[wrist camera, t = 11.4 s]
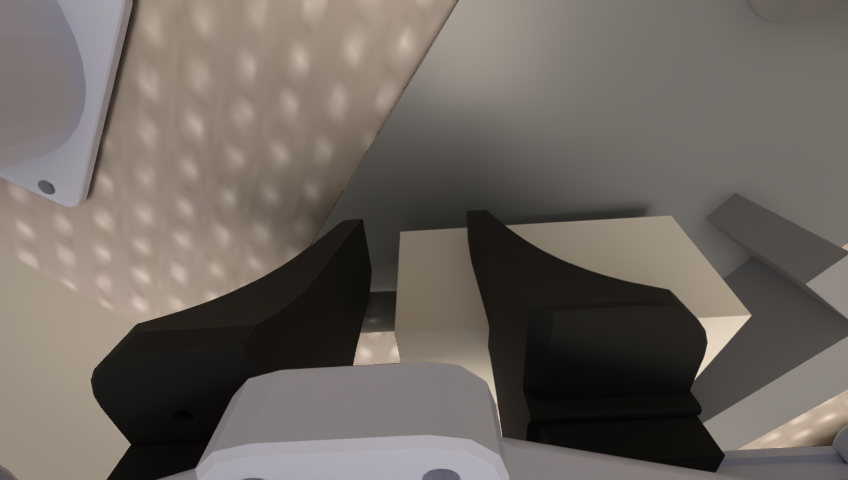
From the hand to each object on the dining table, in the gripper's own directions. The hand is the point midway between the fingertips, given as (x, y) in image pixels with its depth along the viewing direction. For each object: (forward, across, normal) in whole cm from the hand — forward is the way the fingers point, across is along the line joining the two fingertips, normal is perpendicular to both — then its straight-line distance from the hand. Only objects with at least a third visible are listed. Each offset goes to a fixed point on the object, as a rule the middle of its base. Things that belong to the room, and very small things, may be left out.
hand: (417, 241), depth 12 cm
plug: (+1, -3, +2) cm, 4 cm away
